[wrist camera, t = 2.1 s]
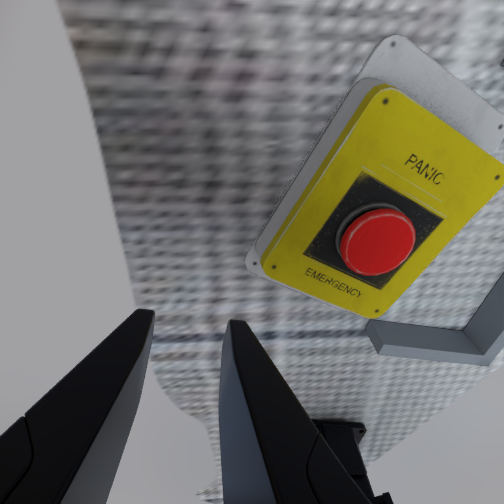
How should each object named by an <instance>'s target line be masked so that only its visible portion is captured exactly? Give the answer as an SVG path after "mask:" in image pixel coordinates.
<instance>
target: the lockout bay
mask: <svg viewBox="0 0 504 504" xmlns="http://www.w3.org/2000/svg"><path fill="white" fill-rule="evenodd" d="M501 66H503V67H504V60H503V62H502V64H501ZM365 330H366V332H367V334H368V336H369V338H370V340H371V342H372V344H373V346H374V348H375V350H376V351H377V353H378V355H386V356H395V357H405V358H414V359H424V360H433V361H442V362H452V363H461V364H471V365H480V366H489V364H490V363H491V362H492V361H493V359H494V358H495V357H496V356H497V354H498V353H499V352H500V351H501V350H502V348H503V347H504V273H503V275H502V276H501V278H500V279H499V280H498V282H497V283H496V285H495V286H494V288H493V289H492V290H491V292H490V293H489V295H488V296H487V297H486V299H485V300H484V302H483V303H482V305H481V306H480V307H479V309H478V310H477V312H476V313H475V314H474V316H473V317H472V319H471V320H470V322H469V323H468V324H467V326H466V327H465V329H464V330H463V331H457V330H449V329H441V328H433V327H425V326H418V325H410V324H402V323H394V322H386V321H378V320H370V321H369V323H368V325H367V327H366V329H365Z"/></svg>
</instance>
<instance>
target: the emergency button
mask: <svg viewBox="0 0 504 504" xmlns="http://www.w3.org/2000/svg"><path fill="white" fill-rule="evenodd" d="M503 139H504V114H502V113H501V112H500V111H499V110H497V109H496V108H495V107H493V106H492V105H491V104H490V103H488V102H487V101H486V100H485V99H483V98H482V97H481V96H480V95H478V94H477V93H476V92H474V91H473V90H472V89H471V88H469V87H468V86H467V85H466V84H464V83H463V82H462V81H461V80H459V79H458V78H457V77H455V76H454V75H453V74H452V73H450V72H449V71H448V70H447V69H445V68H444V67H443V66H442V65H440V64H439V63H438V62H436V61H435V60H434V59H433V58H431V57H430V56H429V55H428V54H426V53H425V52H424V51H423V50H421V49H420V48H419V47H417V46H416V45H415V44H414V43H412V42H411V41H410V40H409V39H407V38H406V37H404V36H400V35H396V34H394V35H391V36H389V37H387V38H384V39H383V40H382V41H381V42H380V43H379V44H378V45H377V46H376V47H375V48H374V50H373V51H372V53H371V54H370V56H369V58H368V59H367V61H366V63H365V64H364V66H363V67H362V69H361V71H360V72H359V74H358V75H357V77H356V79H355V80H354V82H353V83H352V85H351V87H350V88H349V90H348V92H347V93H346V95H345V96H344V98H343V100H342V101H341V103H340V104H339V106H338V108H337V109H336V111H335V112H334V114H333V116H332V117H331V119H330V120H329V122H328V124H327V125H326V127H325V129H324V130H323V132H322V133H321V135H320V137H319V138H318V140H317V141H316V143H315V145H314V146H313V148H312V149H311V151H310V153H309V154H308V156H307V158H306V159H305V161H304V162H303V164H302V166H301V167H300V169H299V170H298V172H297V174H296V175H295V177H294V178H293V180H292V182H291V183H290V185H289V186H288V188H287V190H286V191H285V193H284V195H283V196H282V198H281V199H280V201H279V203H278V204H277V206H276V207H275V209H274V211H273V212H272V214H271V215H270V217H269V219H268V220H267V222H266V224H265V225H264V227H263V228H262V230H261V232H260V233H259V235H258V236H257V238H256V240H255V241H254V243H253V244H252V246H251V248H250V249H249V251H248V253H247V255H246V258H245V264H246V268H247V269H248V270H249V271H250V272H251V273H253V274H256V275H258V276H261V277H263V278H265V279H268V280H270V281H273V282H275V283H277V284H280V285H282V286H284V287H287V288H289V289H292V290H294V291H296V292H299V293H301V294H304V295H306V296H308V297H311V298H313V299H316V300H318V301H320V302H323V303H325V304H328V305H330V306H332V307H335V308H337V309H339V310H345V311H350V312H352V313H355V314H357V315H359V316H362V317H364V318H369V319H374V318H378V317H380V316H381V315H383V314H384V313H385V312H386V311H387V310H388V309H389V308H390V307H391V306H392V304H393V303H394V302H395V301H396V300H397V299H398V298H399V297H400V296H401V295H402V294H403V293H404V292H405V291H406V289H407V288H408V287H409V286H410V285H411V284H412V283H413V282H414V281H415V280H416V279H417V278H418V277H419V275H420V274H421V273H422V272H423V271H424V270H425V269H426V268H427V267H428V266H429V265H430V264H431V263H432V262H433V260H434V259H435V258H436V257H437V256H438V255H439V254H440V253H441V252H442V251H443V250H444V249H445V248H446V247H447V245H448V244H449V243H450V242H451V241H452V240H453V239H454V238H455V237H456V236H457V235H458V234H459V233H460V231H461V230H462V229H463V228H464V227H465V226H466V225H467V224H468V223H469V222H470V221H471V220H472V219H473V218H474V216H475V215H476V214H477V213H478V212H479V211H480V210H481V209H482V208H483V207H484V206H485V205H486V204H487V203H488V201H489V200H490V199H491V198H492V197H493V196H494V195H495V194H496V193H497V192H498V191H499V190H500V189H501V187H502V186H503V185H504V165H503V164H502V163H501V162H499V161H498V160H497V159H495V158H494V157H492V156H491V154H492V152H493V151H494V150H495V149H496V148H497V147H498V146H499V144H500V143H501V142H502V140H503Z"/></svg>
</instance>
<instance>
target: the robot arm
mask: <svg viewBox="0 0 504 504" xmlns="http://www.w3.org/2000/svg"><path fill="white" fill-rule="evenodd" d="M154 320H155V312H154V310H149V309H137V310H135V311H134V312H133V313H132V314H131V315H130V316H129V317H128V318H127V319H126V320H125V321H124V322H123V323H122V324H120V325H119V326H118V327H117V328H116V329H115V330H114V331H113V332H112V333H111V334H110V335H109V336H108V337H107V338H105V339H104V340H103V341H102V342H101V343H100V344H99V345H98V346H97V347H96V348H95V349H94V350H93V351H92V352H90V353H89V354H88V355H87V356H86V357H85V358H84V359H83V360H82V361H81V362H80V363H78V364H77V365H76V366H75V367H74V368H73V369H72V370H71V371H70V372H69V373H68V374H67V375H66V376H64V377H63V378H62V379H61V380H60V381H59V382H58V383H57V384H56V385H55V386H54V387H53V388H52V389H50V390H49V391H48V393H46V394H45V395H44V396H43V397H42V398H41V399H40V400H39V401H38V402H36V403H35V404H34V405H33V406H32V407H31V408H30V409H29V410H28V411H27V412H26V413H25V417H23V416H22V417H20V418H19V419H18V420H17V421H16V422H15V423H14V424H13V425H11V426H10V427H9V428H8V429H7V430H6V431H5V432H4V433H3V434H2V435H1V436H0V504H106V502H107V499H108V495H109V492H110V489H111V487H112V484H113V481H114V478H115V475H116V472H117V469H118V466H119V463H120V460H121V456H122V453H123V451H124V448H125V445H126V442H127V439H128V436H129V433H130V430H131V427H132V424H133V421H134V418H135V415H136V411H137V408H138V405H139V401H140V397H141V393H142V388H143V383H144V379H145V373H146V368H147V364H148V359H149V354H150V349H151V344H152V339H153V330H154ZM219 431H220V449H221V466H222V484H223V502H224V504H393V501H392V499H391V496H390V494H389V492H386V493H383V495H380V496H376V497H374V494H373V491H372V488H371V485H370V482H369V479H368V476H367V471H366V468H365V465H364V462H363V459H362V456H361V453H360V450H359V447H358V444H359V442H360V441H361V439H362V438H363V436H364V434H365V433H366V431H367V430H366V428H365V425H363V424H351V423H336V422H320V421H312V420H311V419H310V417H309V416H308V414H307V413H306V411H305V410H304V408H303V407H302V405H301V404H300V402H299V401H298V399H297V398H296V396H295V395H294V393H293V392H292V390H291V389H290V387H289V386H288V384H287V383H286V381H285V380H284V378H283V377H282V375H281V374H280V372H279V371H278V369H277V368H276V366H275V365H274V363H273V362H272V360H271V359H270V357H269V356H268V354H267V353H266V351H265V350H264V348H263V347H262V345H261V344H260V342H259V341H258V339H257V338H256V336H255V335H254V333H253V332H252V330H251V329H250V327H249V326H248V324H247V323H246V322H245V321H243V320H235V319H230V320H229V321H228V324H227V328H226V333H225V337H224V341H223V346H222V357H221V373H220V389H219Z"/></svg>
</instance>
